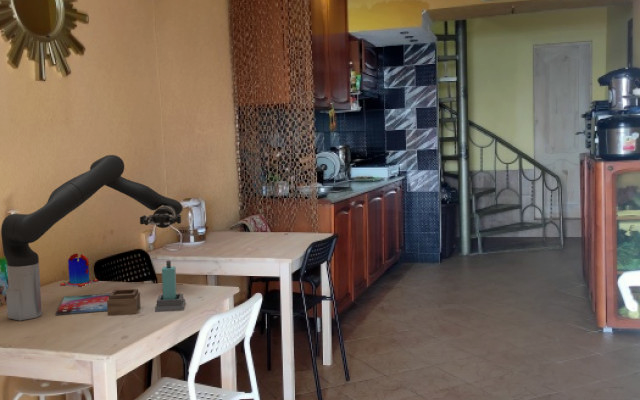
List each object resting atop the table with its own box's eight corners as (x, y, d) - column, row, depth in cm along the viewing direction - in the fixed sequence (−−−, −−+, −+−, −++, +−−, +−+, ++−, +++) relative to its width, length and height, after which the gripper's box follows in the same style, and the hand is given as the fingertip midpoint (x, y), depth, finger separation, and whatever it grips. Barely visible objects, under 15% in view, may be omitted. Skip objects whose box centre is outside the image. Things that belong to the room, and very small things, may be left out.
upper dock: (136, 313, 207) (135, 295, 207) (107, 315, 206) (106, 296, 206) (140, 306, 216) (139, 288, 216) (113, 307, 215) (112, 289, 214)
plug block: (175, 304, 213) (173, 261, 211) (163, 304, 212) (161, 262, 211) (176, 301, 217) (175, 259, 215) (164, 301, 216) (163, 259, 215)
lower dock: (183, 310, 211) (182, 300, 210) (155, 311, 210) (154, 301, 209) (185, 303, 220) (184, 293, 219) (158, 304, 219) (158, 294, 218)
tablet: (119, 294, 235) (118, 292, 235) (116, 312, 211) (116, 309, 211) (63, 298, 230) (63, 296, 230) (54, 317, 206) (54, 314, 206)
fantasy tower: (101, 280, 256) (99, 251, 254) (82, 287, 244) (81, 256, 243) (76, 279, 259) (74, 250, 258) (56, 286, 248) (54, 255, 246)
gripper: (144, 207, 238) (137, 211, 222) (183, 206, 240) (178, 211, 224) (145, 227, 239) (137, 233, 223) (183, 226, 240) (179, 232, 224)
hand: (158, 222), depth 223 cm, fingers open, 8 cm apart
